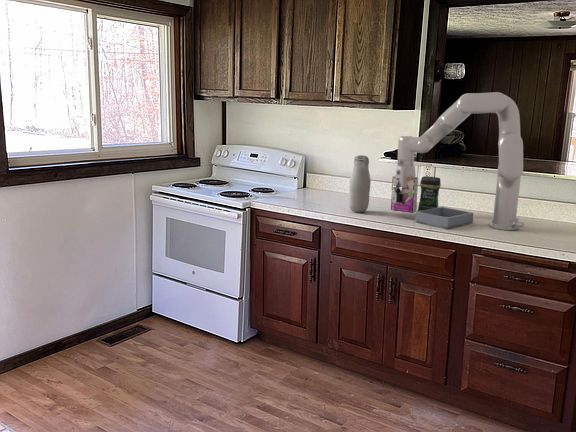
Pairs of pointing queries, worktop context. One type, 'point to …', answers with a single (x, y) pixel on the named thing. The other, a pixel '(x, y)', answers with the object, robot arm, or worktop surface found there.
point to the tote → (444, 217)
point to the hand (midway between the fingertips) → (404, 200)
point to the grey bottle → (359, 185)
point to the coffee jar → (429, 193)
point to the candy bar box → (406, 196)
